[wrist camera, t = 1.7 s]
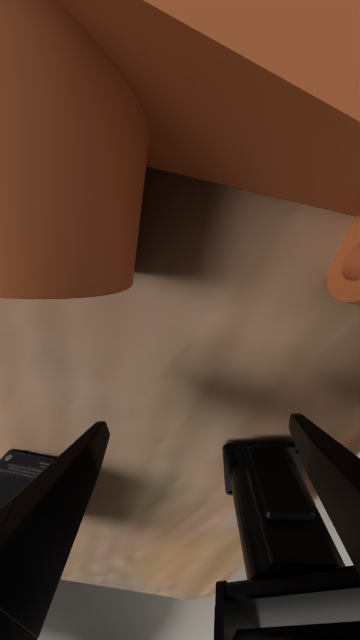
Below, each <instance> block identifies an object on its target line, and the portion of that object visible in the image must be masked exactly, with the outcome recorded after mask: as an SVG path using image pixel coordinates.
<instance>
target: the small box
mask: <svg viewBox="0 0 360 640" xmlns="http://www.w3.org/2000/svg"><path fill="white" fill-rule="evenodd" d="M54 460H55V459H54V458H49V457H43V456H39V455H34V454H29V453H24V452H19V451H13V450H9V451H8V452H7V453H6V454H5V455H4V456H3V457H2V458H1V459H0V509H1V508H2V507H4V506H5V505H6V504H7V503H8V502H9V501H10V500H11V499H12V498H13V497H15V496H16V495H17V494H18V493H19V492H20V491H21V490H22V489H23V488H25V487H26V486H27V485H28V484H29V483H30V482H31V481H32V480H33V479H34V478H35V477H37V476H38V475H39V474H40V473H41V472H42V471H43V470H44V469H45V468H46V467H48V466H49V465H50V464H51V463H52V462H53V461H54Z"/></svg>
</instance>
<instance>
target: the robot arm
mask: <svg viewBox="0 0 360 640" xmlns="http://www.w3.org/2000/svg"><path fill="white" fill-rule="evenodd" d="M289 430H290V433H291V436H292V438H293V441H294V442H282V443H243V444H226V445H224V446H223V463H224V478H225V490H226V494H228V495H233V499H234V505H235V511H236V516H237V522H238V528H239V534H240V540H241V546H242V552H243V558H244V563H245V569H246V575H247V580H244V581H236V582H230V583H227V582H226V581H218V582H216V600H215V601H216V602H215V603H216V604H215V619H214V620H215V621H214V640H360V458H358V457H357V456H356V455H355V454H353V453H352V452H351V451H349V450H348V449H347V448H345V447H344V446H343V445H341V444H340V443H339V442H337V441H336V440H335V439H334V438H332V437H331V436H330V435H328V434H327V433H326V432H324V431H323V430H322V429H320V428H319V427H318V426H316V425H315V424H314V423H313V422H311V421H310V420H309V419H307V418H306V417H305V416H303V415H302V414H300V413H295V414H291V415H290V421H289ZM109 436H110V433H109V430H108V427H107V424H106V422H105V421H98V422H96V423H95V424H94V425H93V426H91V427H90V428H89V429H88V430H87V431H86V432H85V433H84V434H83V435H82V436H80V437H79V438H78V439H77V440H76V441H75V442H74V443H73V444H72V445H71V446H70V447H68V448H67V449H66V450H65V451H64V452H63V453H62V454H61V455H60V456H59V457H57V458H56V459H55V460H54V461H53V462H52V463H51V464H50V465H49V466H48V467H46V468H45V469H44V470H43V471H42V472H41V473H40V474H39V475H38V476H37V477H35V478H34V479H33V480H32V481H31V482H30V483H29V484H28V485H27V486H26V487H25V488H23V489H22V490H21V491H20V492H19V493H18V494H17V495H16V496H15V497H13V498H12V499H11V500H10V501H9V502H8V503H7V504H6V505H5V506H4V507H2V508H1V509H0V640H37V639H38V637H39V635H40V632H41V629H42V626H43V624H44V621H45V618H46V615H47V613H48V610H49V607H50V605H51V602H52V599H53V597H54V594H55V591H56V589H57V586H58V583H59V581H60V578H61V575H62V573H63V570H64V567H65V564H66V562H67V559H68V556H69V554H70V551H71V548H72V546H73V543H74V540H75V537H76V535H77V532H78V529H79V527H80V524H81V521H82V519H83V516H84V513H85V511H86V508H87V505H88V502H89V500H90V497H91V494H92V492H93V489H94V486H95V484H96V481H97V478H98V475H99V472H100V469H101V466H102V462H103V458H104V455H105V451H106V448H107V444H108V440H109ZM303 465H304V468H305V470H306V472H307V474H308V476H309V478H310V480H311V482H312V484H313V486H314V488H315V490H316V492H317V494H318V496H319V498H320V500H321V502H322V504H323V506H324V508H325V510H326V512H327V514H328V516H329V517H330V519H331V521H332V523H333V525H334V527H335V529H336V531H337V533H338V535H339V537H340V539H341V541H342V543H343V545H344V547H345V549H346V551H347V553H348V555H349V556H350V558H351V561H352V562H353V564H354V566H345V564H344V562H343V560H342V558H341V556H340V554H339V552H338V550H337V548H336V546H335V544H334V542H333V540H332V538H331V536H330V534H329V532H328V530H327V528H326V525H325V523H324V522H323V519H322V517H321V515H320V513H319V511H318V509H317V507H316V505H315V503H314V501H313V499H312V497H311V495H310V493H309V491H308V489H307V487H306V485H305V483H304V481H303V479H302V471H303Z"/></svg>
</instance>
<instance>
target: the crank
mask: <svg viewBox="0 0 360 640" xmlns="http://www.w3.org/2000/svg"><path fill="white" fill-rule="evenodd" d="M146 167H151V168H155V169H159V170H163V171H167V172H172V173H176V174H180V175H184V176H188V177H193V178H197V179H201V180H205V181H209V182H214V183H218V184H222V185H226V186H230V187H235V188H239V189H243V190H247V191H251V192H256V193H260V194H264V195H268V196H273V197H277V198H281V199H285V200H289V201H294V202H298V203H302V204H306V205H310V206H315V207H319V208H323V209H327V210H331V211H336V212H340V213H344V214H348V215H352V216H357V217H356V219H355V221H354V223H353V225H352V227H351V229H350V231H349V233H348V235H347V237H346V239H345V241H344V242H343V244H342V246H341V248H340V250H339V252H338V254H337V256H336V258H335V260H334V262H333V264H332V266H331V268H330V270H329V272H328V274H327V277H326V282H327V288H328V290H329V292H330V294H331V295H332V296H333V297H334V298H335V299H337V300H339V301H342V302H347V303H351V304H355V305H360V0H0V298H12V299H68V298H84V297H95V296H102V295H109V294H114V293H118V292H121V291H124V290H126V289H128V288H130V287H131V286H132V284H133V276H134V268H135V259H136V250H137V241H138V233H139V224H140V215H141V207H142V198H143V189H144V180H145V172H146Z"/></svg>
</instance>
